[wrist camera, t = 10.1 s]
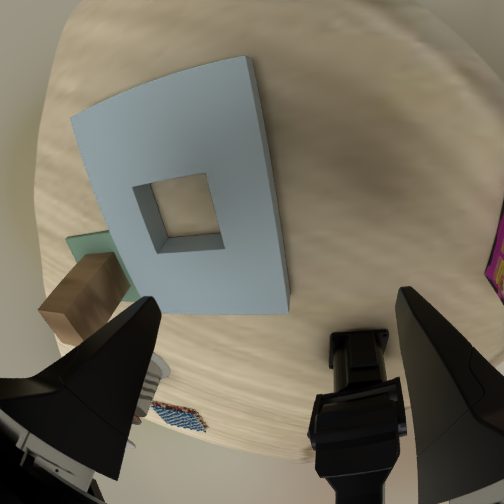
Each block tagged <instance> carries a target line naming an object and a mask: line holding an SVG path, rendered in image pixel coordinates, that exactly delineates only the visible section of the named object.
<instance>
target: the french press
mask: <svg viewBox="0 0 504 504" xmlns="http://www.w3.org/2000/svg"><path fill="white" fill-rule="evenodd" d="M169 374H170V369H169V366H168V365H167V364H166V363H165V362H164V360H163V359H162V358H160V357H159V356H158V355H156V354H155V353H154V352H153V355H152V358H151V361H150V364H149V367H148V370H147V373H146V377H145V380H144V383H143V386H142V390H141V393H140V397H139V400H138V403H137V407H136V411H135V414H134V418H133V421H132V424H136V425H139V424H140V423H141V420H140V418H139V417H145V416H146V415H147V413H148V410H149V408H150V405H151V403H152V402H151V401H152V399H153V397H154V394H155V392H156V390H157V386H158V385H159V382H160V379H163V378H166V377H168V376H169ZM135 448H136V447H135V444H134V443H133V442H132V441H130V440H128V441H127V444H126V448H125V450H130V449H135ZM94 473H95V472H94Z"/></svg>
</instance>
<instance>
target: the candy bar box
mask: <svg viewBox="0 0 504 504" xmlns="http://www.w3.org/2000/svg"><path fill="white" fill-rule="evenodd" d="M485 276H486V278H487V279H488V281H489V282H490V284H491V285H492V287H493V288H494V290H495V292H496V293H497V295H498V297H499V298H500V300H501V302H502V303H503V305H504V203H503V208H502V213H501V218H500V223H499V227H498V232H497V236H496V240H495V243H494V247H493V251H492V254H491V258H490V261H489V264H488V267H487V270H486V273H485Z"/></svg>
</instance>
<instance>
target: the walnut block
mask: <svg viewBox="0 0 504 504" xmlns="http://www.w3.org/2000/svg"><path fill="white" fill-rule="evenodd" d="M130 287H131V286H130V284H129V282H128V280H127V278H126V276H125V274H124V272H123V270H122V268H121V266H120V264H119V262H118V260H117V257H116V255H115V253H114V252H106V253H95V254H85V255H84V256H83V258H82V259H81V260H80V261H79V262H78V263H77V264H76V265H75V266H74V267H73V268H72V270H71V271H70V272H69V273H68V274H67V275H66V276H65V277H64V279H63V280H62V281H61V282H60V283H59V284H58V286H57V287H56V288H55V289H54V290H53V292H52V293H51V294H50V295H49V296H48V298H47V299H46V300H45V301H44V303H43V304H42V305H41V306H40V308H39V309H38V311H39V313H40V314H41V315H42V317H43V318H44V319H45V321H46V322H47V323H48V325H49V326H50V328H51V329H52V330H53V332H54V333H55V334H56V335H57V337H58V338H59V339H60V340H61V342H62V343H65V344H69V345H73V346H78V345H80V343H82V342H83V341H84V340H86V339H87V338H88V337H89V336H91V335H92V334H93V333H95V332H96V331H97V330H99V329H100V328H101V327H103V326H104V325H105V324H106V323H107V322H108V320H109V319H110V317H111V315H112V314H113V312H114V311H115V309H116V308H117V306H118V305H119V303H120V302H121V300H122V299H123V297H124V296H125V294H126V293H127V291H128V290H129V288H130Z"/></svg>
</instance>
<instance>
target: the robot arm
mask: <svg viewBox="0 0 504 504" xmlns="http://www.w3.org/2000/svg"><path fill="white" fill-rule="evenodd" d="M395 311H396V318H397V326H398V334H399V342H400V350H401V355H402V360H403V365H404V369H405V374H406V380H407V385H408V391H409V397H410V403H411V409H412V417H413V424H414V433H415V442H416V453H417V468H418V504H438V503H442V502H445V501H449V504H504V376H503V375H502V374H501V373H500V372H499V371H497V370H496V369H495V368H494V367H493V366H492V365H491V364H490V363H489V362H488V361H487V360H486V359H485V358H484V357H483V356H482V355H481V354H480V353H479V352H478V351H477V350H476V349H475V348H474V347H472V345H471V344H470V342H469V341H468V340H467V339H466V338H465V337H464V336H463V335H462V334H461V333H460V332H459V331H458V330H457V329H456V328H455V327H454V326H453V325H452V324H451V323H450V322H449V321H448V320H447V319H446V318H445V317H443V316H442V315H441V314H440V313H439V312H438V311H437V310H436V309H435V308H434V307H433V306H432V305H431V304H430V303H429V302H428V301H427V300H425V299H424V298H423V297H422V296H421V295H420V294H419V293H418V292H417V291H416V290H414V289H413V288H412V287H411V286H405V287H400V288H399V290H398V295H397V300H396V305H395ZM161 316H162V314H161V310H160V308H159V306H158V304H157V302H156V300H155V298H154V297H153V296H143V297H141V298H140V299H139V300H137V301H136V302H135V303H133V304H132V305H131V306H129V307H128V308H127V309H125V310H124V311H123V312H121V313H120V314H119V315H117V316H116V317H115V318H113V319H112V320H111V321H109V322H108V323H107V324H105V325H104V326H103V327H101V328H100V329H99V330H97V331H96V332H95V333H93V334H92V335H91V336H89V337H88V338H87V339H86V340H84V341H83V342H82V343H80V345H78V346H76V347H75V348H74V349H73V350H71V351H70V352H69V353H67V354H66V355H65V356H63V357H62V358H60V359H59V360H58V361H56V362H54V363H53V364H52V365H50V366H49V367H47V368H46V369H44V370H43V371H41V372H40V373H38V374H37V375H35V376H32V377H29V378H0V504H107V503H105V501H104V499H103V496H102V494H101V492H100V489H99V487H98V484H97V482H96V480H95V479H93V475H94V472H95V471H96V472H98V473H100V474H102V475H105V476H107V477H109V478H111V479H113V480H116V481H118V478H119V474H120V469H121V465H122V461H123V457H124V452H125V448H126V444H127V441H128V438H127V437H128V436H129V432H130V429H131V425H132V421H133V418H134V414H135V411H136V407H137V403H138V400H139V397H140V393H141V390H142V386H143V383H144V380H145V377H146V373H147V370H148V367H149V364H150V361H151V358H152V355H153V351H154V347H155V343H156V339H157V334H158V330H159V325H160V321H161ZM388 337H389V332H388V330H377V331H365V332H352V333H337V334H332V335H331V336H330V351H329V368H330V369H333V371H334V393H329V394H323V395H322V394H318V395H316V400H315V402H314V406H313V411H312V416H311V420H310V425H309V430H308V433H307V436H308V438H309V439H310V441H311V445H312V448H313V449H314V451H316V460H315V470H316V472H317V473H318V475H319V477H320V478H325V479H326V480H327V481H328V483H329V484H330V485H331V487H332V488H333V489H334V490H335V492H336V504H385V481H386V479H387V477H388V476H389V474H390V472H391V470H392V469H393V467H394V465H395V463H396V461H397V459H398V457H399V455H400V441H399V437H403V436H407V426H406V416H405V408H404V401H403V395H402V388H401V383H400V377H396V378H394V379H392V380H388V381H387V376H386V370H385V363H384V357H383V355H384V351H385V348H386V344H387V341H388Z"/></svg>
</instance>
